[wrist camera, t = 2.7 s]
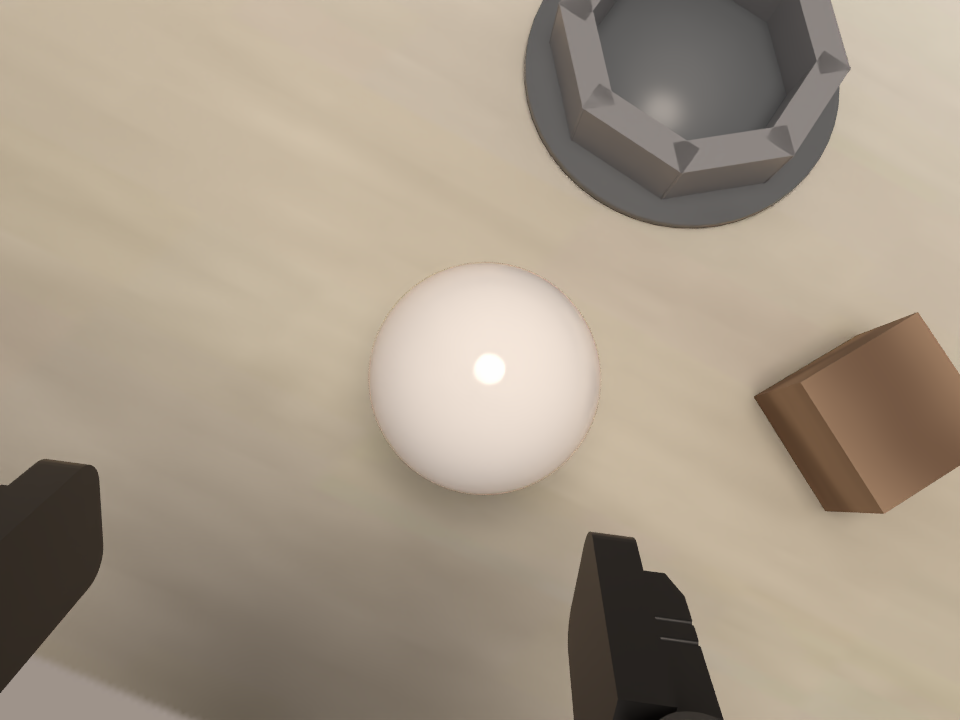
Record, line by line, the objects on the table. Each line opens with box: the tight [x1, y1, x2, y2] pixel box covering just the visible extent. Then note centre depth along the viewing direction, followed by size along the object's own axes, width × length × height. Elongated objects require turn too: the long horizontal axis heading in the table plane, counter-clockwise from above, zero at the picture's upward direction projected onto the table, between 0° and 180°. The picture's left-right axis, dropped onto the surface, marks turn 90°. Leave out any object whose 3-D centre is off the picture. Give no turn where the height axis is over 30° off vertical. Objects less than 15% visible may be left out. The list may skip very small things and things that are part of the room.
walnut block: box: [754, 312, 960, 514], centre depth 27 cm, size 5×5×4 cm
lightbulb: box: [368, 262, 601, 495], centre depth 23 cm, size 6×6×11 cm
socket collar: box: [525, 0, 851, 228], centre depth 30 cm, size 13×13×3 cm
